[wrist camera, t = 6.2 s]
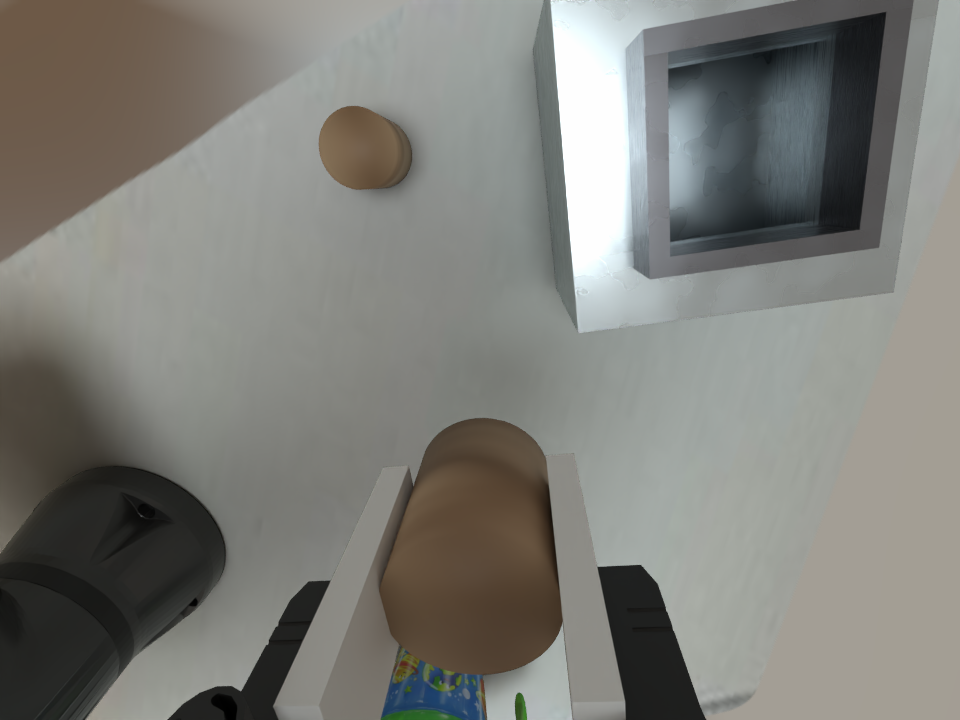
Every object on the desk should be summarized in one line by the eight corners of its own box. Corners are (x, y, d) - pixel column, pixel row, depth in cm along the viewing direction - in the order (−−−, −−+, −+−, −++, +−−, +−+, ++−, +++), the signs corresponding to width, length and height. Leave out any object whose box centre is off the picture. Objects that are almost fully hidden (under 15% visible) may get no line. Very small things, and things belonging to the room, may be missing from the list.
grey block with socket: (556, 288, 32) (587, 350, 20) (533, 49, 27) (555, -52, 15) (773, 258, 30) (942, 306, 19) (790, 0, 26) (1031, -152, 14)
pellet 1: (356, 192, 30) (329, 194, 26) (341, 124, 29) (309, 113, 24) (417, 182, 30) (401, 183, 25) (404, 113, 28) (385, 99, 24)
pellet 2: (433, 529, 16) (397, 676, 11) (411, 423, 14) (360, 541, 10) (553, 522, 15) (569, 672, 11) (542, 412, 14) (556, 530, 9)
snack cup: (353, 672, 46) (313, 799, 37) (367, 593, 42) (328, 712, 33) (507, 703, 47) (509, 836, 37) (535, 628, 43) (544, 755, 33)
